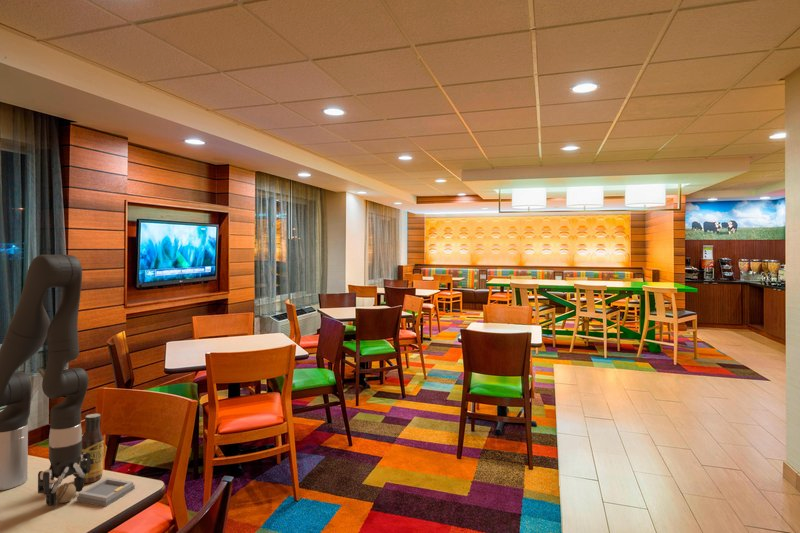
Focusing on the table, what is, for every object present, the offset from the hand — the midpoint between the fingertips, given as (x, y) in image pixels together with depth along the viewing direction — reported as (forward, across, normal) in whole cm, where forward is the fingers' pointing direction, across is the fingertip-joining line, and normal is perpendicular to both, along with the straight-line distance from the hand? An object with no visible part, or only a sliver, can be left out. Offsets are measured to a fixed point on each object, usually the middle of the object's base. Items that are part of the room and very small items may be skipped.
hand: (65, 498), depth 130 cm
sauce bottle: (+1, -12, -4) cm, 13 cm away
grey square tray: (+1, -6, +8) cm, 10 cm away
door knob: (+1, 0, 0) cm, 1 cm away
